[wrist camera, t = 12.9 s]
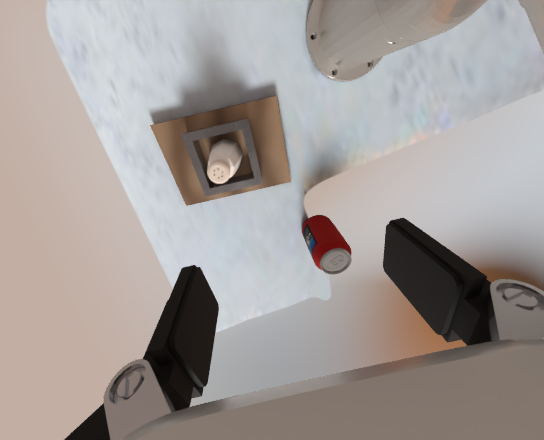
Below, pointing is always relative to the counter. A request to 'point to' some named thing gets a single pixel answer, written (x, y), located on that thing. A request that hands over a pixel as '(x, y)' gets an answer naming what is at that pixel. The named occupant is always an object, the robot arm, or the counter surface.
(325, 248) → the beverage can
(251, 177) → the metal socket
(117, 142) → the counter surface
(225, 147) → the salt shaker
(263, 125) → the walnut board
